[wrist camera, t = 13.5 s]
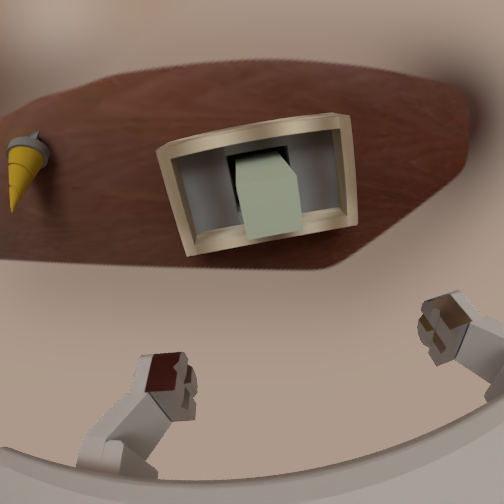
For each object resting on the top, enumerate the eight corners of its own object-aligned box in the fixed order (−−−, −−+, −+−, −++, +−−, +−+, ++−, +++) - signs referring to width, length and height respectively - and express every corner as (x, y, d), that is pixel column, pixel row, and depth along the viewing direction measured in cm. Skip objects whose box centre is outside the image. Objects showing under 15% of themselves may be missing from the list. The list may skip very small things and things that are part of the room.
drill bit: (63, 126, 25) (40, 211, 22) (47, 147, 28) (27, 225, 25) (25, 109, 21) (-7, 197, 18) (12, 133, 23) (-14, 213, 21)
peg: (243, 196, 30) (247, 240, 21) (235, 157, 28) (235, 185, 19) (282, 188, 30) (303, 229, 21) (276, 150, 28) (296, 175, 19)
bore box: (193, 233, 31) (186, 256, 27) (168, 142, 27) (155, 150, 22) (341, 206, 31) (358, 224, 26) (331, 112, 26) (349, 115, 22)
